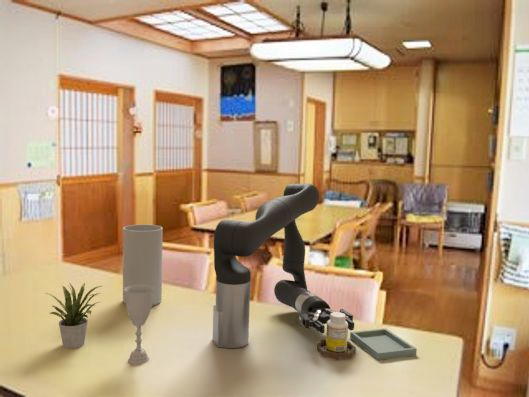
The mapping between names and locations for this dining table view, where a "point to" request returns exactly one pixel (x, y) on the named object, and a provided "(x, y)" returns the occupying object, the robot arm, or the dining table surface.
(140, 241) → the cylinder vase
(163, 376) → the dining table surface
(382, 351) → the tray
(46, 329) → the dining table surface
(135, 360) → the chalice
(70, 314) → the house plant
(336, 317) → the supplement bottle
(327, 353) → the holder ring
